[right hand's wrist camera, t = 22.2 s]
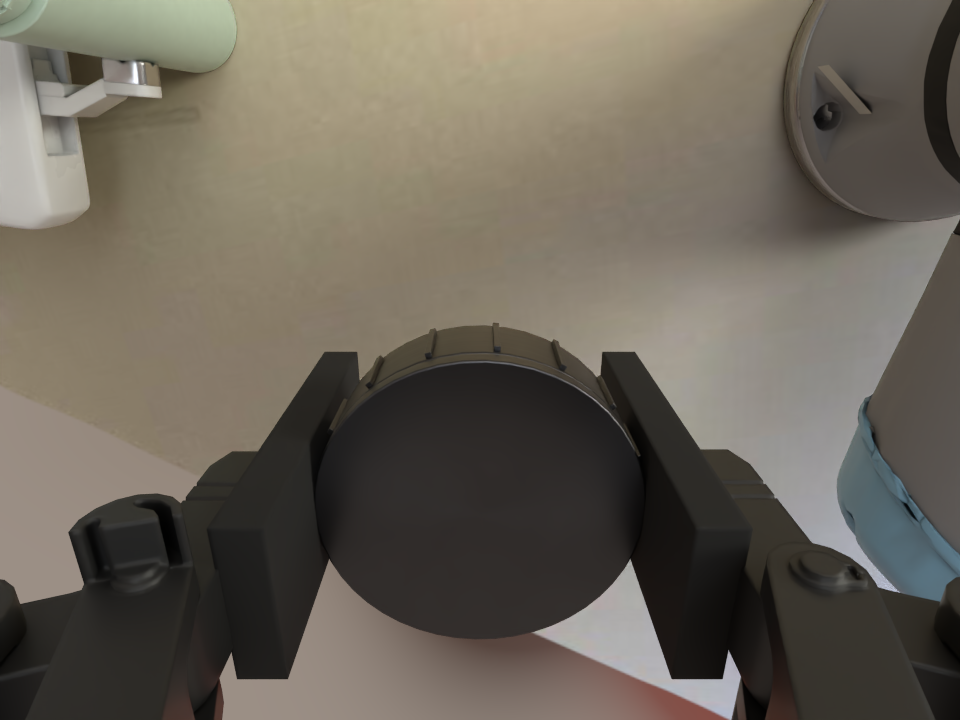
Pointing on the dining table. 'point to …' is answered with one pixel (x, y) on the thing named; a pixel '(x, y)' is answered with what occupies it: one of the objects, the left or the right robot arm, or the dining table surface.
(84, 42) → the jar
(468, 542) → the lid
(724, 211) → the dining table surface
